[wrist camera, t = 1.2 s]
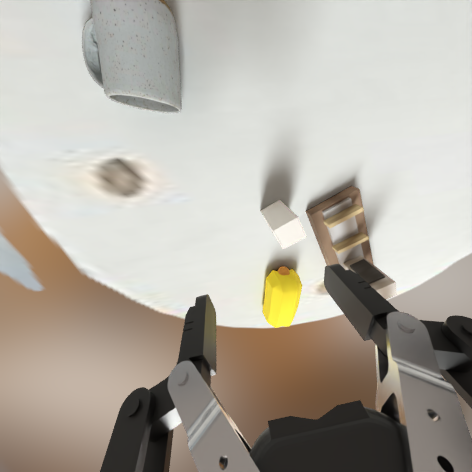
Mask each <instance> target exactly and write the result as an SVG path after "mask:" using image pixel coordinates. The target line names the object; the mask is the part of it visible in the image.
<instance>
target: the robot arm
mask: <svg viewBox="0 0 472 472" xmlns="http://www.w3.org/2000/svg"><path fill="white" fill-rule="evenodd" d="M324 285H325V288H326V290H327V291H328V293H329V294H330V296H331V297H332V298H333V300H334V301H335V302H336V304H337V305H338V306H339V308H340V309H341V310H342V312H343V313H344V314H345V316H346V317H347V318H348V320H349V321H350V322H351V324H352V325H353V326H354V328H355V329H356V330H357V332H358V333H359V334H360V336H361V337H362V338H363V340H364V341H366V340H370V339H372V340H373V341H374V343H375V344H376V345H375V353H376V368H377V393H376V410H374V409H370V408H367V407H363V405H362V403H361V401H360V400H359V401H355V402H350V403H346V404H341V405H337V406H336V407H334V408H333V409H332V410H330V411H329V412H328V413H326V414H325V415H323V416H322V417H321V418H319V419H318V420H313V419H306V418H299V417H293V416H289V417H285V418H280V419H275V420H271V421H268V424H269V427H268V428H267V429H266V430H264V431H263V432H262V433H261V435H260V436H259V437H258V438H257V440H256V441H255V443H254V445H253V447H252V449H251V448H250V446H249V444H248V443H247V442H246V440H245V438H244V437H243V435H242V434H241V432H240V431H239V429H238V428H237V426H236V425H235V423H234V422H233V420H232V419H231V418H230V416H229V414H228V413H227V411H226V410H225V408H224V407H223V405H222V403H221V402H220V400H219V399H218V397H217V396H216V394H215V392H214V391H213V389H212V388H211V386H210V383H211V380H210V379H211V376H212V375H216V312H215V308H214V306H213V304H212V302H211V299H210V297H209V295H208V294H207V295H203V296H199V297H197V298H196V303H195V306H193V307H190V308H189V310H188V312H187V314H186V317H185V325H184V329H183V335H182V341H181V347H180V353H179V358H178V362H177V365H176V366H175V368H174V369H173V370H172V372H171V374H170V375H169V376H168V377H167V378H166V379H165V380H163V381H162V382H160V383H159V384H157V385H156V386H154V387H152V388H151V389H149V390H148V389H146V388H138V389H136V390H134V391H133V392H132V393H131V394H130V395H129V396H128V397H127V398H126V400H125V401H124V403H123V404H122V406H121V408H120V411H119V414H118V417H117V420H116V423H115V426H114V429H113V433H112V436H111V439H110V442H109V445H108V449H107V451H106V455H105V458H104V461H103V464H102V467H101V470H100V472H169V466H170V457H171V447H172V438H173V429H174V428H175V427H176V426H178V425H179V424H180V423H183V426H184V428H185V430H186V433H187V436H188V446H189V450H190V452H191V455H192V457H193V460H194V462H195V464H196V467H197V469H198V472H472V439H471V436H470V433H469V430H468V427H467V424H466V421H465V418H464V415H463V412H462V409H461V406H460V403H459V400H458V397H457V394H456V392H455V390H456V391H457V393H458V394H459V395H460V396H461V397H462V398H463V399H464V400H465V401H466V403H468V405H469V406H470V407H471V408H472V319H471V318H467V317H463V316H450V317H448V318H447V320H446V321H445V322H435V321H423V320H418V319H417V318H415V317H414V316H412V315H409V314H407V313H404V312H399V311H398V310H397V309H395V308H394V307H393V306H392V305H391V304H390V303H389V302H388V301H387V300H386V299H385V298H384V297H382V296H381V295H380V294H379V293H378V292H377V291H376V290H375V289H374V288H372V287H371V285H370V284H368V283H367V282H366V281H365V280H364V279H363V278H362V277H361V276H360V275H359V274H357V273H355V272H353V271H351V270H350V269H349V270H345V269H344V268H343V267H342V266H341V265H340V264H333V265H329V266H326V267H325V276H324ZM441 375H442V376H443V377H444V378H445V379H446V380H447V381H445V380H444V379H443V378H442V376H441ZM454 389H455V390H454Z"/></svg>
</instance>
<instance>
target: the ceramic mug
mask: <svg viewBox="0 0 472 472" xmlns="http://www.w3.org/2000/svg"><path fill="white" fill-rule="evenodd" d="M91 9H92V17H91V18H90V19H89V20H88V21H87V22H86V23H85V26H84V29H83V34H82V48H83V55H84V60H85V64H86V67H87V69H88V71H89V73H90V75H91V77H92V78H93V79H94V81H95V82H96V83H97V84H98V85H99V86H101V87H102V88H104V92H105V94H106V96H107V97H108V98H109V99H111V100H113V101H115V102H118V103H121V104H124V105H128V106H131V107H135V108H139V109H143V110H150V111H154V112H162V113H179V112H181V110H182V104H181V88H180V70H179V51H178V36H177V31H176V24H175V20H174V16H173V14H172V12H171V10H170V7H169V6H168V5H167V3H166V2H165V1H164V0H91ZM98 52H99V55H98ZM99 59H100V64H99ZM100 66H101V69H100Z"/></svg>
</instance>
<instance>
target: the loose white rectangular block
mask: <svg viewBox="0 0 472 472" xmlns="http://www.w3.org/2000/svg"><path fill="white" fill-rule="evenodd" d="M261 213H262V215H263V217H264V218H265V220H266V222H267V224H268V226H269V227H270V229H271V231H272V232H273V234H274V235H275V237H276V239H277V240H278V242H279V244H280V245H281V247H282V248H283V249H285V248H287V247H289V246H291V245H293V244H295V243H297V242H299V241H300V240H302V239H304V238H306V237H307V236H306V234H305V232H304V229H303V227H302V225H301V222H300V220H299V218H298V216H297V215H296V214H294V213H293V212H292V211H291V210H290V209H289V208H288V207H287V206H286V205H285V204H284V203H283V202H282V201H280V200H278V201H276V202H275V203H273V204H271V205H269V206H268V207H266V208H264V209H263V210H261Z"/></svg>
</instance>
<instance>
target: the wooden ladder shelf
mask: <svg viewBox="0 0 472 472" xmlns="http://www.w3.org/2000/svg"><path fill="white" fill-rule="evenodd" d="M306 213H307V216H308V218H309V221H310V223H311V226H312V228H313V231H314V233H315V236H316V239H317V241H318V244H319V246H320V249H321V251H322V254H323V256H324V259H325V261H326V264H327V266H329V265H333V264H340V265H341V266H342V267H343V268H344V269H345V270H349V269H350V270H351V271H353V272H355V273H357V274H359V275H360V276H361V277H362V278H363V279H364V280H365V281H366V282H367V283H368V284H370V285H371V287H372V288H374V289H375V290H376V291H377V292H378V293H379V294H380V295H381V296H382V297H384V298H385V299H388V298H390V297H393V296H395V295H397V293H396V282H395V281H393V280H392V279H391V278H390V277H388V276H387V275H386V274H384V273H383V272H382V271H381V270H379V269H378V268H377V267H376V266H374V265H373V260H372V255H371V249H370V244H369V237H368V233H367V228H366V222H365V217H364V210H363V206H362V200H361V195H360V190H359V189H358V188H355V187H352V186H351V187H349V188H347V189H345V190H343V191H342V192H340V193H338V194H336V195H334V196H333V197H331V198H329V199H327V200H325V201H324V202H322V203H320V204H318V205H316V206H315V207H313V208H311V209H309V210H307V211H306Z"/></svg>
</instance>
